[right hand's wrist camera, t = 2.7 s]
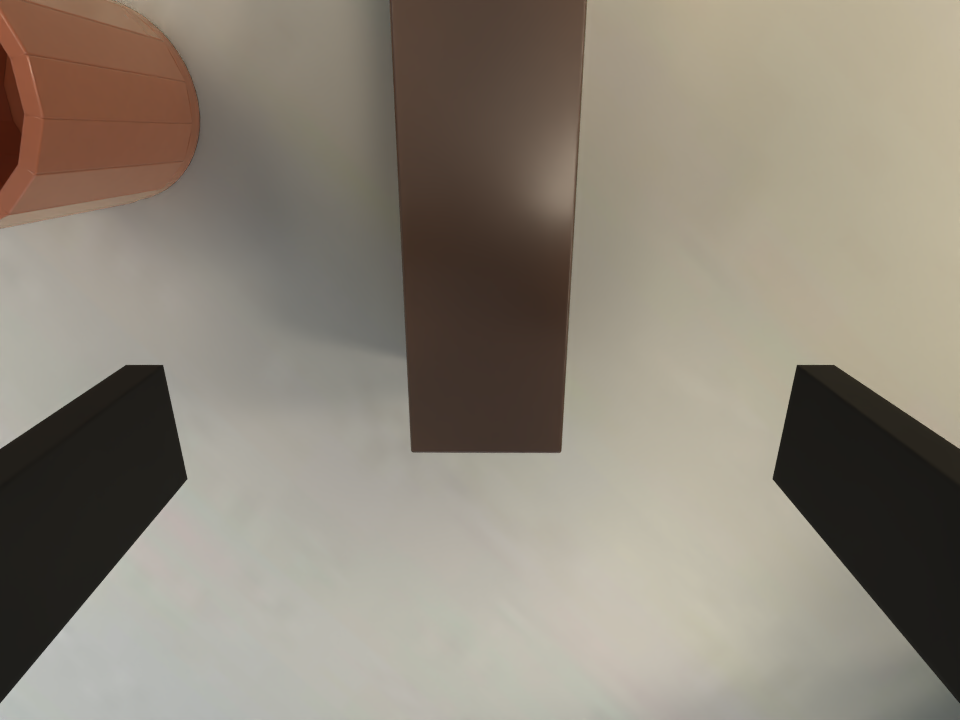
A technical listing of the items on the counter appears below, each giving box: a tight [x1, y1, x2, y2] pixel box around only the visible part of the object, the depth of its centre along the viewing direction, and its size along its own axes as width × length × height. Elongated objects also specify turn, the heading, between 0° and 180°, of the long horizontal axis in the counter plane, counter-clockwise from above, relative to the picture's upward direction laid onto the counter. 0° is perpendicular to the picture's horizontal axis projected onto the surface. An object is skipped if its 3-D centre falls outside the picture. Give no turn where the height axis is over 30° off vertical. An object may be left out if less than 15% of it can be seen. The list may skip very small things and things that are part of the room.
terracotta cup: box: [0, 0, 200, 229], centre depth 19 cm, size 7×7×9 cm
